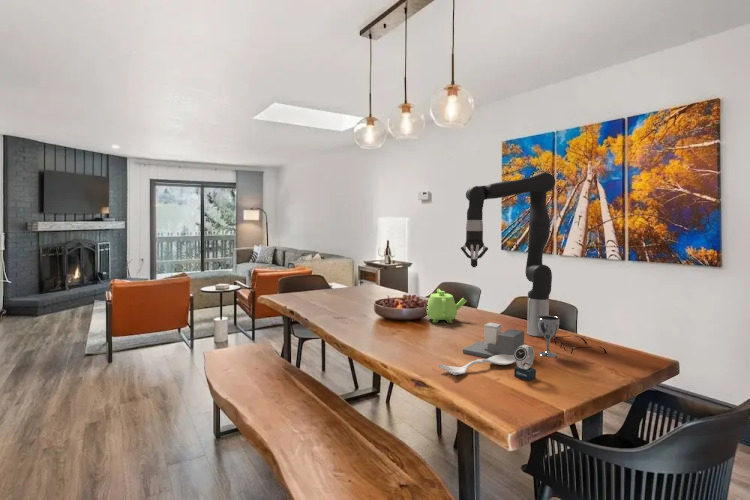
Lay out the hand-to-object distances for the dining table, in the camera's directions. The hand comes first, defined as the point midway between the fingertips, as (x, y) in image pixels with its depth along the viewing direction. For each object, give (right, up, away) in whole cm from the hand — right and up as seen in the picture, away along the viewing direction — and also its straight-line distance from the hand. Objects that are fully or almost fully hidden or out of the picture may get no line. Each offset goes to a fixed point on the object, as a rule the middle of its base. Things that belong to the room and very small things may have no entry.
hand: (474, 267), depth 197 cm
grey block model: (+2, -34, -25) cm, 42 cm away
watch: (+5, -36, -52) cm, 63 cm away
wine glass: (+23, -34, -27) cm, 49 cm away
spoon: (-8, -35, -43) cm, 56 cm away
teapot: (-7, -30, +34) cm, 46 cm away
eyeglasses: (+39, -34, -20) cm, 56 cm away
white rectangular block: (+2, -32, -25) cm, 41 cm away
